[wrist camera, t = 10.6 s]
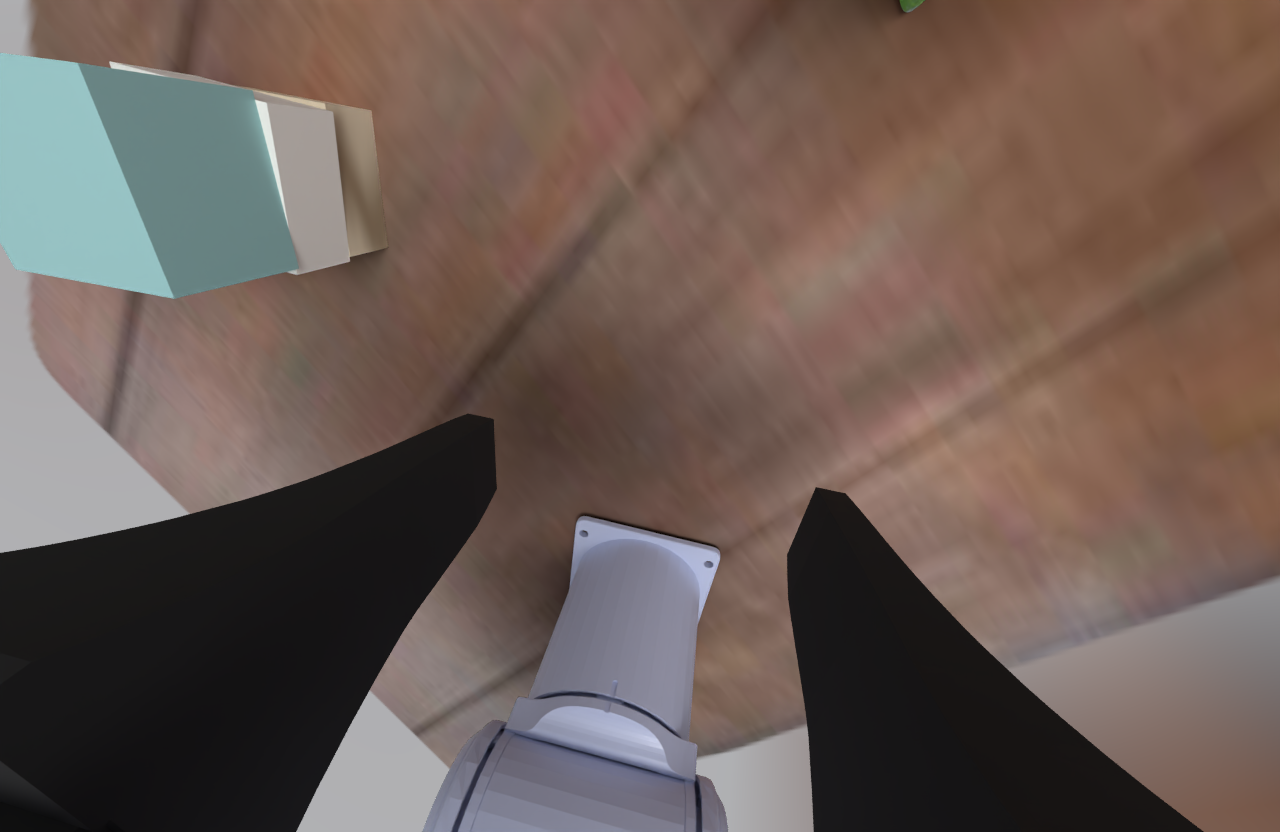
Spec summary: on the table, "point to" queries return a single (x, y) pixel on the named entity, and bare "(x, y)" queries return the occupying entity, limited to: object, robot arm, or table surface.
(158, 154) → the teal brick
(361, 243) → the maple brick
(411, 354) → the table surface
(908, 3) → the syrup box
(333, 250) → the white brick
